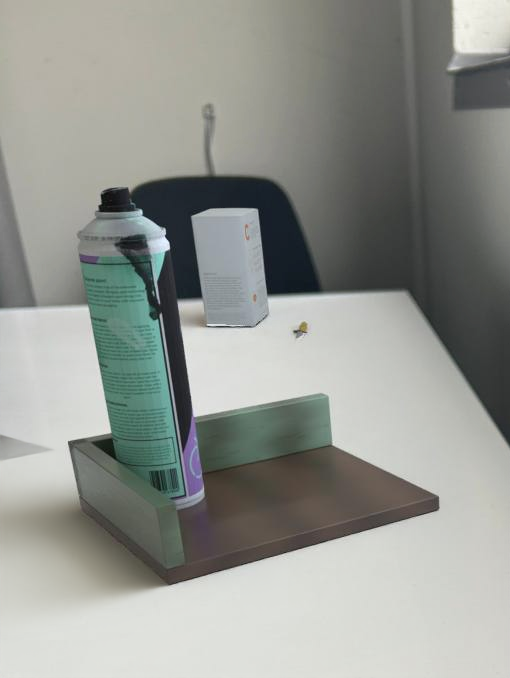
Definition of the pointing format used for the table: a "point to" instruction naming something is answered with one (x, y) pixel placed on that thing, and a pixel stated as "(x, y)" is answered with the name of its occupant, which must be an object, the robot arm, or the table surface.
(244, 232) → the small box
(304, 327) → the dagger
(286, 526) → the corner board
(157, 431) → the spray can
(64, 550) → the table surface
